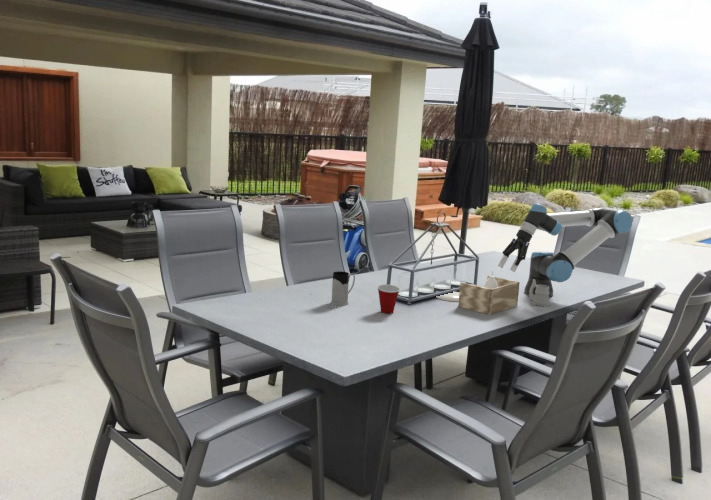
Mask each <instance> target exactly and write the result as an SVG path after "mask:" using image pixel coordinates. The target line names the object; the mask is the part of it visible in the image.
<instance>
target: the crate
mask: <svg viewBox="0 0 711 500" xmlns="http://www.w3.org/2000/svg"><path fill="white" fill-rule="evenodd" d="M489 276H490V275H487V277H486V280H487V279H488V278H489ZM495 279H496V281H497V284H498V287H496V288H493V289H489V288H485V287H484V286H480V285H476V284H471V283H466V282H463V281H462V282H460V284H459V292H460V293H459V302H458V307H459V308H463V309H466V310H471V311H473V312H474V311H475V312H479V313H482V314H486V315H492V314H493V315H494V314H495V313H499V312H502V311H504V310H507V309H511V308H513V307H516V306H518V302H519V293H520V292H519V291H520V282H521V281H516V280H511V279H506V278H503V277H497V276H495ZM501 310H502V311H501Z"/></svg>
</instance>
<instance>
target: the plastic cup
mask: <svg viewBox="0 0 711 500" xmlns="http://www.w3.org/2000/svg"><path fill="white" fill-rule="evenodd" d="M376 288H377V291H378V299H379V305H380V307H379V308H380V311H381V313H382V314H387V315H389V314H393V313H394V311H395V307H396V303H397V299H398V295H399V293H400V292H401V287H399V286H397V285H393V284H385V283H384V284H379V285H377V287H376Z"/></svg>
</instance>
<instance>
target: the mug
mask: <svg viewBox="0 0 711 500" xmlns="http://www.w3.org/2000/svg"><path fill="white" fill-rule="evenodd" d="M535 287H536V290H535V295H534V294H533V289H534V288H535ZM549 293H550V292H549V286H547V285H536V281H535V279H533V282H532V285H531V288H530V290H529V294H528V297H529V299H530V300H531V301H533V305H534V306H537V307H541V308H546V307H549V304H550V301H549V300H550V296H549Z"/></svg>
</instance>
